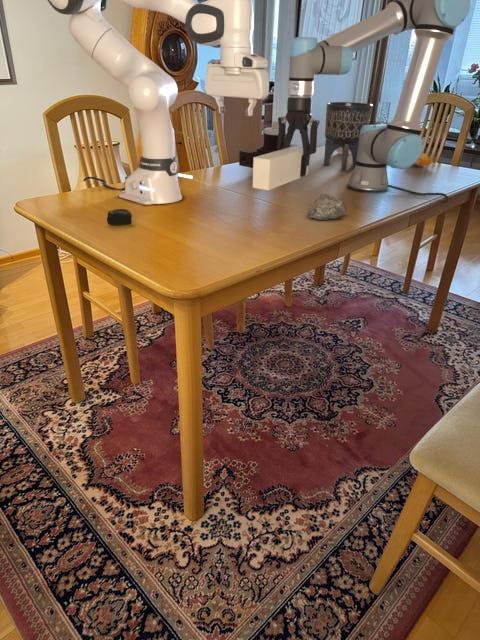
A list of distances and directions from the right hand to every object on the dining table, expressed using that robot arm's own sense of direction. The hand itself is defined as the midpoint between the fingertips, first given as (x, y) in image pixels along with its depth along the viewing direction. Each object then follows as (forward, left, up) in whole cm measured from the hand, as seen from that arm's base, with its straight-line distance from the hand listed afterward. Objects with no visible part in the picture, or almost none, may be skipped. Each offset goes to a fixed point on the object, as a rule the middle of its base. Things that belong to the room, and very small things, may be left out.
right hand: (294, 174), depth 150 cm
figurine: (-30, -100, -10) cm, 105 cm away
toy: (-62, -76, -10) cm, 99 cm away
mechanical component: (+4, -48, -10) cm, 49 cm away
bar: (+4, +7, -1) cm, 9 cm away
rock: (-11, +12, -10) cm, 19 cm away
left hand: (+19, +10, +19) cm, 29 cm away
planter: (-25, -66, -10) cm, 71 cm away
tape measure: (+51, +29, -10) cm, 59 cm away
